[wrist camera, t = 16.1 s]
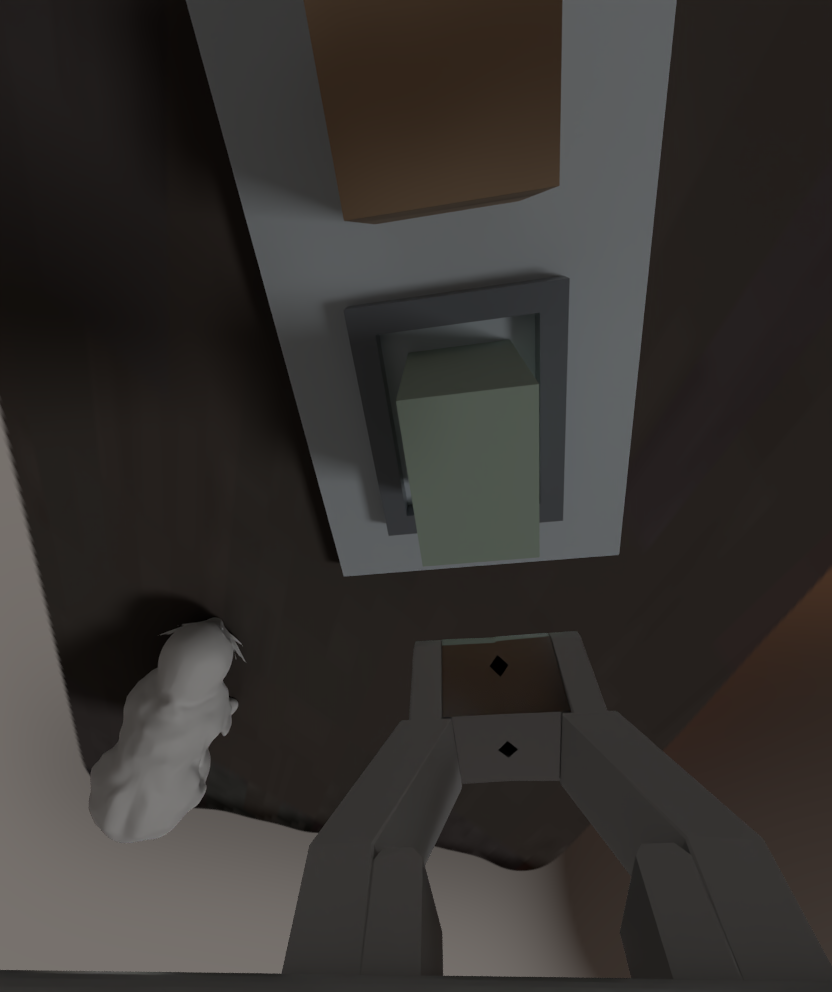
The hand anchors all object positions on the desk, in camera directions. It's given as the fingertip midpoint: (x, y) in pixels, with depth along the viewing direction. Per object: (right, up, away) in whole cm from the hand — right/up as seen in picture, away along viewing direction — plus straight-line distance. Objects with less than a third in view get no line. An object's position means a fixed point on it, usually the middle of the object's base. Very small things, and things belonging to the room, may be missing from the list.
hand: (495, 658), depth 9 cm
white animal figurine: (-15, -8, +21) cm, 27 cm away
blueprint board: (0, +9, +10) cm, 14 cm away
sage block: (+1, +6, +11) cm, 13 cm away
